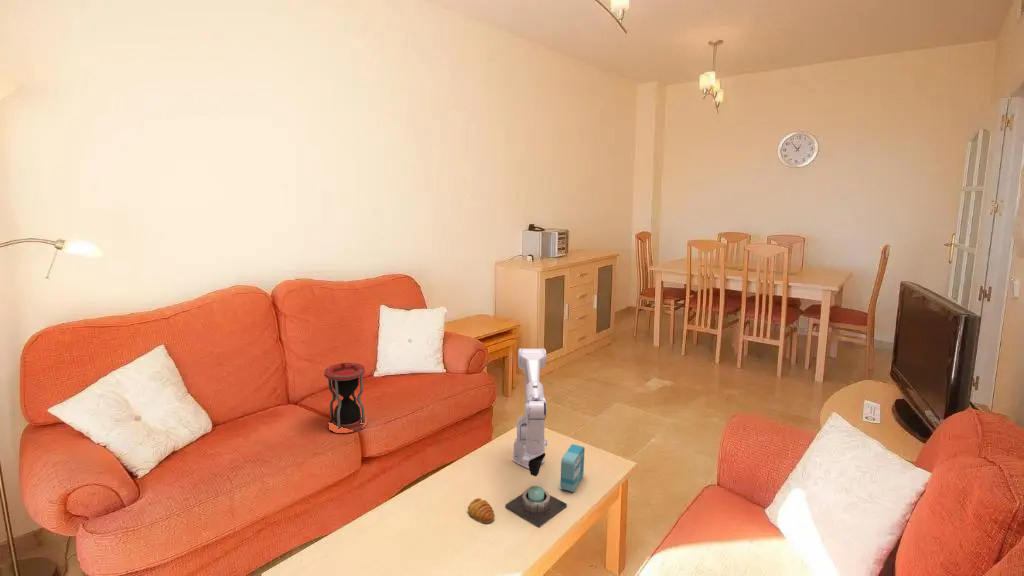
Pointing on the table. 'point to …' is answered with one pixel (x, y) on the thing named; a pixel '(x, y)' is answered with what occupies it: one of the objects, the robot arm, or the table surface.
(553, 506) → the square base ring holder
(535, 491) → the teal rounded cylinder
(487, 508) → the pastry
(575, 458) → the data package
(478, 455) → the table surface
